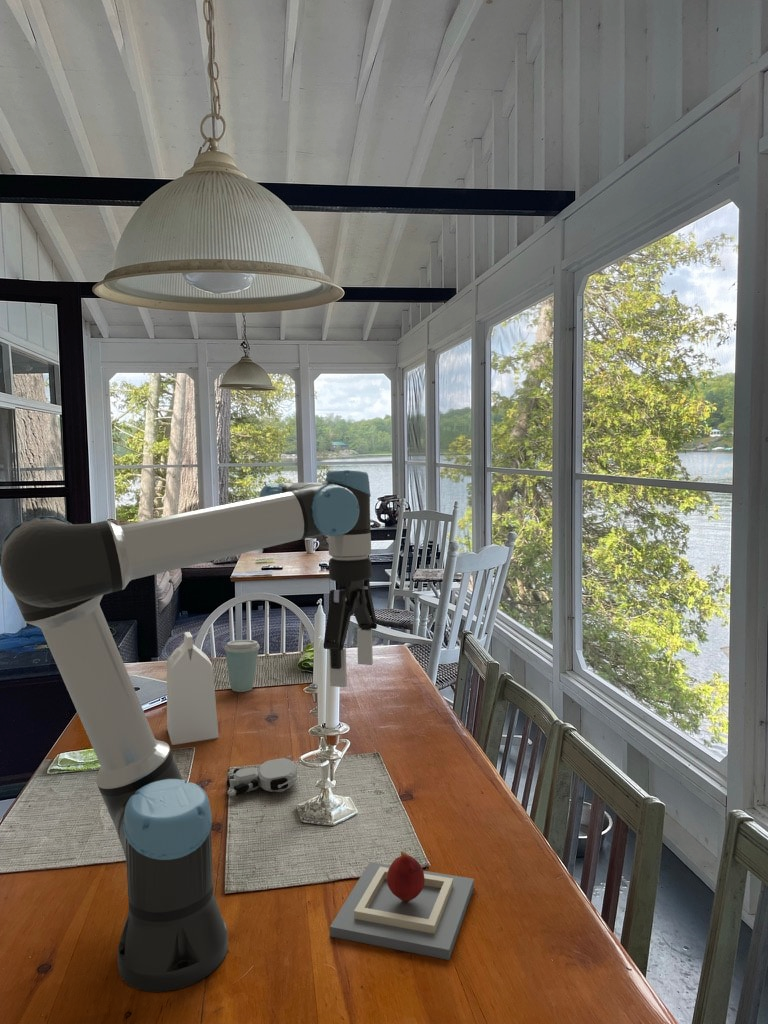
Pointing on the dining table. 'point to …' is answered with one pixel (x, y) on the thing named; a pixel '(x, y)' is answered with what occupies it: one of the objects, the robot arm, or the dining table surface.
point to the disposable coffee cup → (241, 663)
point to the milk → (190, 695)
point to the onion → (405, 877)
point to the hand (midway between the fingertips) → (352, 674)
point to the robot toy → (263, 777)
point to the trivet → (405, 913)
